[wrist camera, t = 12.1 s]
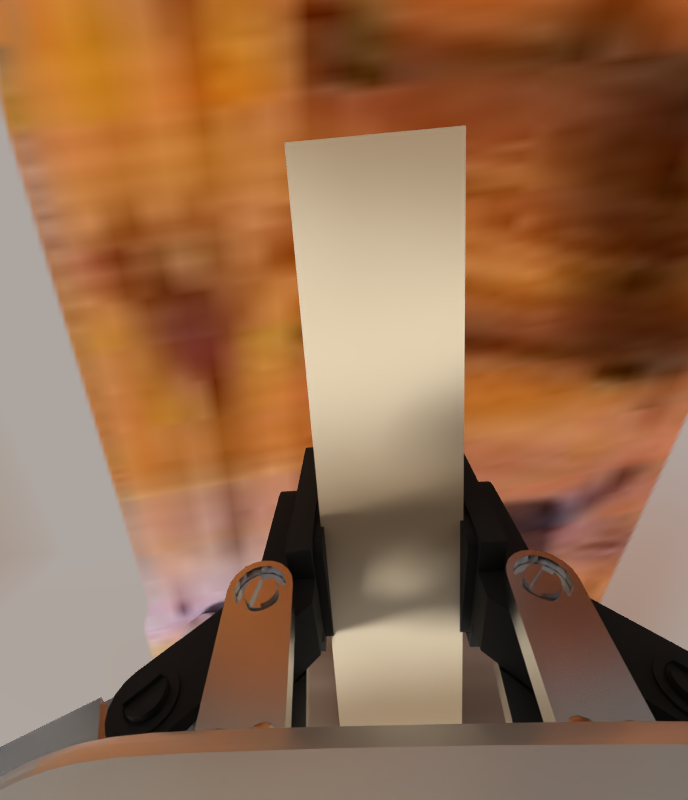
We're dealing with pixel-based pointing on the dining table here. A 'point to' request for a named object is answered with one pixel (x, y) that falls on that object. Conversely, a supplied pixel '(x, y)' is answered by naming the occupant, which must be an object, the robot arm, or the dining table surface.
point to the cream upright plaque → (388, 422)
